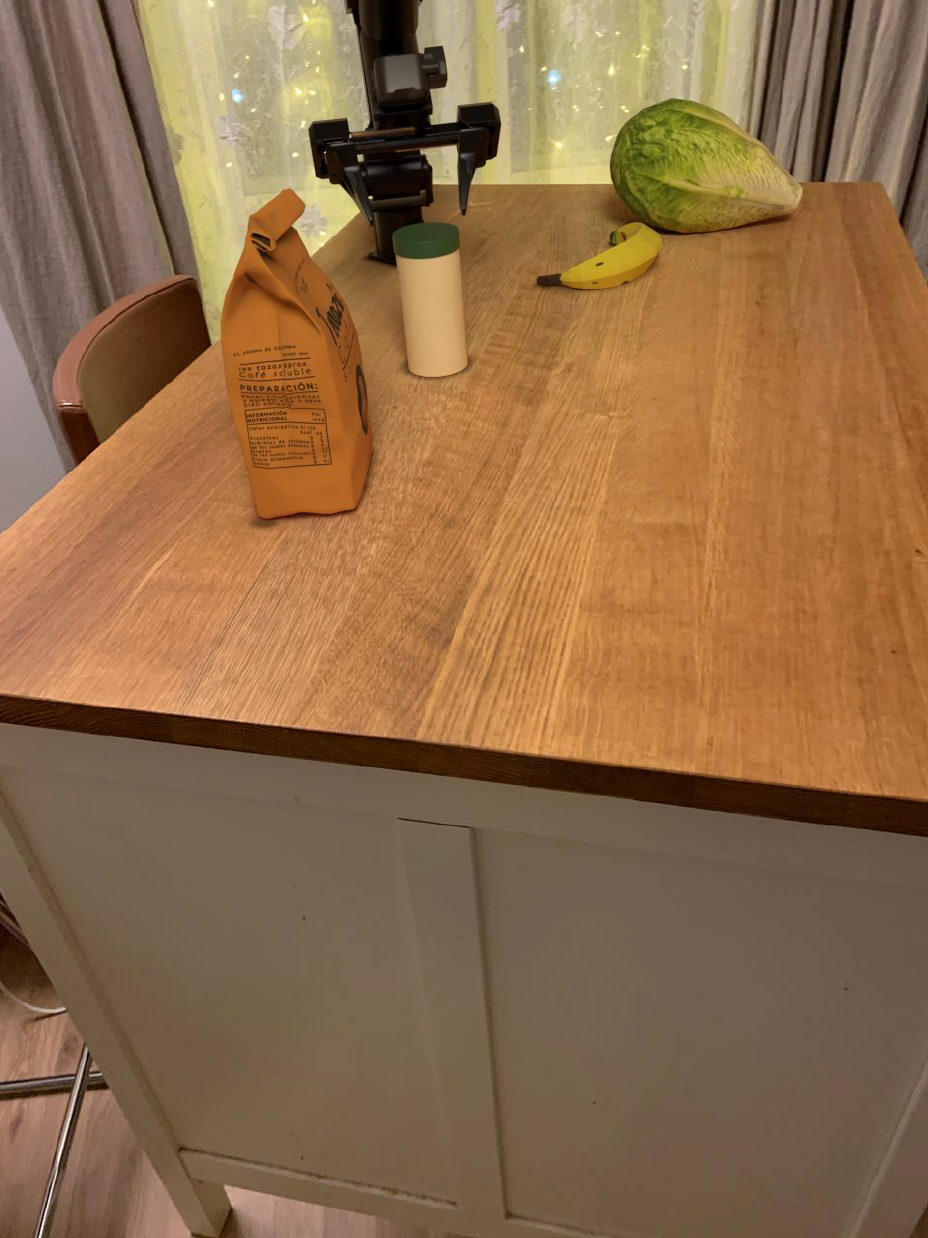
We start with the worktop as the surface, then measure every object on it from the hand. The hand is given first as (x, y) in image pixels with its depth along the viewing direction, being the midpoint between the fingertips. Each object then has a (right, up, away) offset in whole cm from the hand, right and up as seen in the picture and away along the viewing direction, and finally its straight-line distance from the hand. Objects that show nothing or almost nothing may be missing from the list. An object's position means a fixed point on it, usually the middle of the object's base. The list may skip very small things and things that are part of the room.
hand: (418, 218), depth 96 cm
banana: (+21, +3, +22) cm, 31 cm away
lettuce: (+36, +12, +32) cm, 50 cm away
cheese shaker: (+2, -14, +2) cm, 14 cm away
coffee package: (-7, -29, -16) cm, 33 cm away
